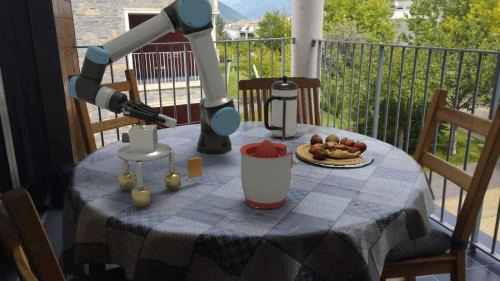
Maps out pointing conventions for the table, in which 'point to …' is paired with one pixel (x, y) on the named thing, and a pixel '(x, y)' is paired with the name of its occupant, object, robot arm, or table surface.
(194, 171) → the lever
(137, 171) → the tribrach stand
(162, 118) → the robot arm
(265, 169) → the citrus juicer
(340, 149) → the wooden plate with food
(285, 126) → the coffee press
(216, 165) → the table surface
